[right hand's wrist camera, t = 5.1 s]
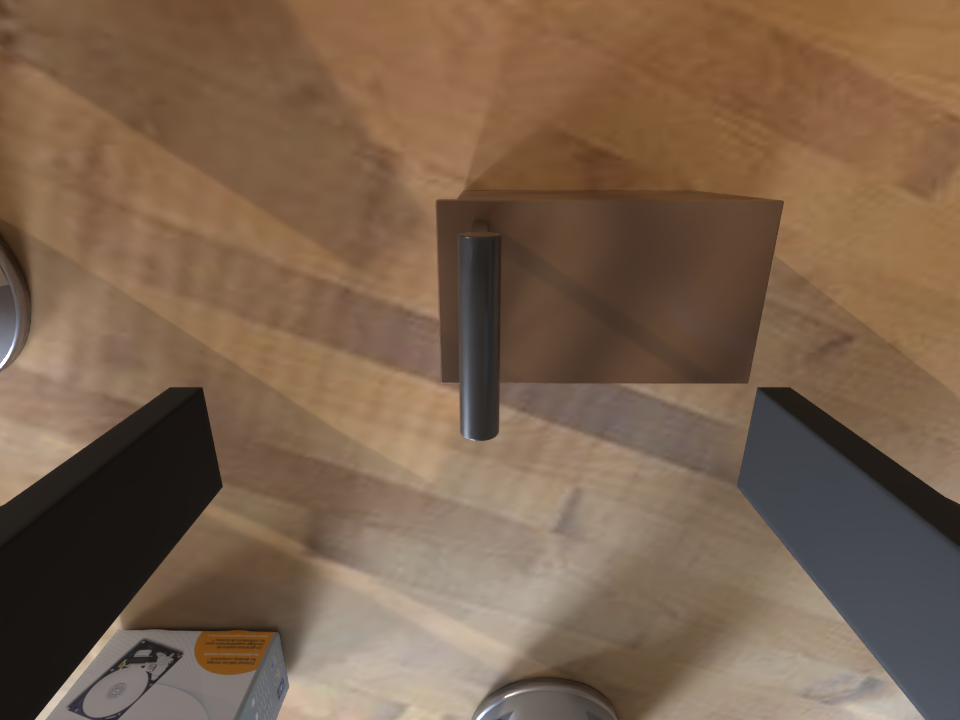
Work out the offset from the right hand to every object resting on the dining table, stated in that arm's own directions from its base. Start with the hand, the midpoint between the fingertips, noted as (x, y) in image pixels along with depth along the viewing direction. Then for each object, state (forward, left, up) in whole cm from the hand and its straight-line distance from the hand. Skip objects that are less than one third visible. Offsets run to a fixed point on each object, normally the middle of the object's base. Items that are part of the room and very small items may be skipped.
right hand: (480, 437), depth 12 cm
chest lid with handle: (+4, -5, -15) cm, 16 cm away
